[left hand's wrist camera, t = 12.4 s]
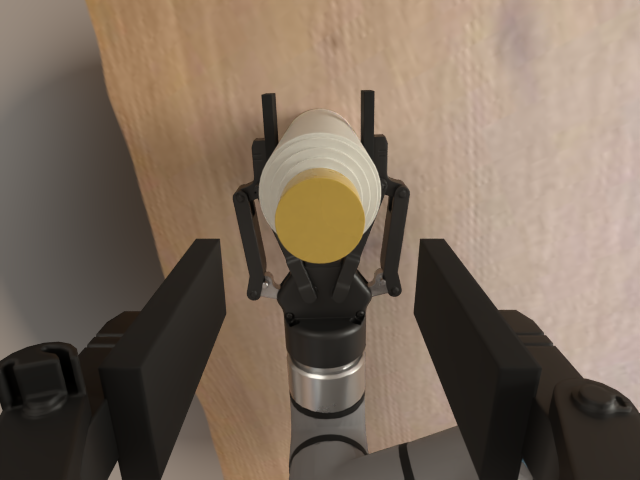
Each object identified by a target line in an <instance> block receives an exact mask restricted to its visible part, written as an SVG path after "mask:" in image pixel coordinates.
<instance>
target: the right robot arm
mask: <svg viewBox="0 0 640 480" xmlns="http://www.w3.org/2000/svg"><path fill="white" fill-rule="evenodd" d="M262 108H263V122H264V135H265V138H256V139H255V140H254V141H253V145H252V156H253V168H254V181H252V182H250V183H248V184H243V185H241V186H240V187H239V188H238V189H237V191H236V192H235V193H234V195H233V202H234V207H235V211H236V216H237V220H238V225H239V229H240V234H241V239H242V243H243V248H244V252H245V257H246V261H247V266H248V270H249V275H250V278H249V284H248V289H247V296H248V298H249V299H250V300H258V299H259V298H260V296H263V297H268V298H274V299H277V301H278V303H279V305H280V306H281V307H282V309H283V312H284V324H285V339H286V349H287V368H288V380H289V392H290V401H291V445H290V458H289V474H290V476H289V480H479V478H478V475H477V473H476V470H475V468H474V465H473V462H472V460H471V457H470V455H469V452H468V450H467V447H466V445H465V442H464V440H463V437H462V435H461V432H460V430H459V427H458V426H455V427H452V428H449V429H446V430H443V431H441V432H438V433H435V434H432V435H429V436H426V437H423V438H420V439H417V440H415V441H412V442H408V443H403V444H399V445H396V446H393V447H390V448H387V449H384V450H380V451H377V452H374V453H371V454H368V446H367V438H366V429H365V397H364V396H365V386H366V361H365V350H364V349H365V345H366V308H367V306H368V304H369V302H370V301H371V298H372V296H377V295H381V294H385V293H389V295H390V296H393V297H396V296H399V295H400V294H401V292H402V289H401V284H400V280H399V276H398V267H399V260H400V254H401V247H402V241H403V235H404V228H405V222H406V215H407V209H408V203H409V196H410V191H409V189H408V188H407V187H406V185H405V184H404V183H403V182H402V181H401V180H395V179H392V178H390V177H388V176H387V152H388V151H387V150H388V143H387V140H386V137H385V136H384V135H383V134H378V135H374V91H372V90H361V144H362V145H363V147H364V148H365V150H366V152H367V153H368V155H369V157H370V158H371V160H372V161H373V163H374V165H375V167H376V169H377V172H378V175H379V178H380V184H381V200H380V205H381V203H382V200H383V198H384V195H388V196H389V199H388V206H387V213H386V221H385V228H384V235H383V242H382V249H381V258H380V262H381V268H379V269H377V270H376V271H375V273H374V279H373V280H372V281H371V282H369V283H368V282H367V281H366V279H365V278H364V277H363V276H362V274H361V273H360V272H359V271H358V270H357V267H358V265H359V262H360V256H361V254H362V251H363V249H364V246H365V243H366V241H367V238H368V236H369V233H370V231H371V228H372V226H373V223H374V221H375V219H374V221H373V222H372V224H371V225H370V227H369V228H368V229H367V231H366V232H365V233H364V234H363V235H362V237H361V240H360V241H359V243H358V244H357V246H356V247H355V248H354V249H353V250H352V251H351V252H350V253H349V254H348V255H346V256H345V257H343V258H341V259H339V260H337V261H333V262H330V263H320V264H319V263H311V262H306V261H303V260H301V259H299V258H297V257H295V256H294V255H292V254H291V253H290V252H289V251H288V250H287V249H286V248H285V247H284V246H283V244H282V243H281V241H280V240H279V238H278V235H277V234H276V233H275V232H274V230H273V229H272V230H273V232H274V235H275V237H276V239H277V241H278V243H279V245H280V247H281V250H282V252H283V254H284V256H285V258H286V263H287V266H288V268H289V270H290V272H289V273H288V274H287V276H286V277H285V279H284V280H283V281H282V283H281V284H280V285H278V284H276V283H275V282H274V279H273V275H272V274H271V273H270V272H266V257H265V252H264V247H263V242H262V237H261V232H260V227H259V222H258V217H257V212H256V207H255V202H254V200H255V199H257V198H258V200H259V183H260V178H261V175H262V172H263V169H264V167H265V165H266V163H267V161H268V160H269V158H270V156H271V155H272V153H273V152H274V150H275V148H276V147H277V145H278V128H277V113H276V97H275V93H266V94H263V95H262ZM259 202H260V201H259ZM380 205H379V208H380ZM378 210H379V209H378ZM377 213H378V212H377ZM376 215H377V214H376ZM375 218H376V217H375ZM518 480H533V477H532V475H531V473H530V472H529V470H528V468H527V466H526V464H525V462H524V460H523V459H522V463H521V468H520V472H519V477H518Z"/></svg>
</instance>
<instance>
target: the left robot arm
mask: <svg viewBox="0 0 640 480" xmlns="http://www.w3.org/2000/svg"><path fill="white" fill-rule="evenodd" d="M225 316H226V304H225V292H224V281H223V269H222V258H221V246H220V239H196V240H195V241H194V242H193V244H192V245H191V246H190V248H189V249H188V250H187V251H186V253H185V254H184V255H183V257H182V258H181V259H180V261H179V262H178V263H177V265H176V266H175V267H174V269H173V270H172V271H171V273H170V274H169V275H168V276H167V278H166V279H165V280H164V282H163V283H162V284H161V286H160V287H159V288H158V290H157V291H156V292H155V294H154V295H153V296H152V298H151V299H150V300H149V301H148V303H147V304H146V305H145V307H144V308H143V309H142V311H124V312H123V313H121V314H119V315H118V316H116V317H115V318H113V319H111V320H110V321H108V322H107V323H106V324H105V325H104V326H103V327H102V329H101V330H100V331H99V332H98V333H97V335H96V337H94V338H93V339H92V340H91V341H90V342H89V344H88V345H87V348H84V350H83V351H82V352H81V353H80V354H79V355H78V352H77V349H76V348H75V347H74V346H72V345H71V344H68V343H63V342H49V343H42V344H37V345H33V346H29V347H26V348H24V349H22V350H19V351H17V352H14V353H12V354H10V355H9V356H7V357H6V358H4V359H3V360H1V361H0V404H1V407H2V410H3V411H2V413H1V415H0V480H108V478H109V476H110V474H111V472H112V470H113V468H114V466H115V464H116V462H117V461H118V463H119V468H120V472H121V477H122V480H161V478H162V475H163V473H164V470H165V468H166V465H167V462H168V460H169V457H170V455H171V452H172V450H173V447H174V445H175V442H176V440H177V437H178V435H179V432H180V429H181V427H182V424H183V422H184V419H185V417H186V414H187V412H188V409H189V407H190V404H191V402H192V399H193V397H194V394H195V392H196V389H197V386H198V384H199V381H200V379H201V376H202V374H203V371H204V369H205V366H206V364H207V361H208V359H209V356H210V354H211V351H212V348H213V346H214V343H215V341H216V338H217V336H218V333H219V331H220V328H221V326H222V323H223V321H224V318H225ZM414 316H415V318H416V321H417V323H418V326H419V328H420V331H421V333H422V336H423V338H424V341H425V343H426V346H427V348H428V351H429V354H430V356H431V359H432V361H433V364H434V366H435V369H436V371H437V374H438V376H439V379H440V381H441V384H442V386H443V389H444V392H445V394H446V397H447V399H448V402H449V404H450V407H451V409H452V412H453V414H454V417H455V419H456V422H457V424H458V427H459V430H460V432H461V435H462V437H463V440H464V442H465V445H466V447H467V450H468V452H469V455H470V457H471V460H472V462H473V465H474V468H475V470H476V473H477V475H478V478H479V480H518V477H519V472H520V468H521V463H522V459H523V460H524V462H525V464H526V466H527V468H528V470H529V472H530V473H531V475H532V477H533V480H640V413H639V412H638V410H637V409H636V407H635V406H634V405H633V403H632V402H631V401H630V400H629V399H628V398H627V397H625V396H624V395H623V394H621V393H620V392H619V391H617V390H615V389H613V388H611V387H609V386H607V385H605V384H603V383H600V382H596V381H593V380H589V379H584V378H583V377H582V376H581V375H580V374H579V373H578V371H577V370H576V369H575V368H574V367H573V366H572V365H571V363H570V362H569V361H568V360H567V359H566V358H565V357H564V355H563V354H562V353H561V352H560V351H559V350H558V349H557V347H556V346H553V343H552V342H551V341H550V339H549V338H548V337H547V336H546V335H544V332H543V331H542V330H541V329H540V328H539V327H538V326H537V324H536V323H535V322H534V321H533V320H531V319H530V318H528V317H526V316H525V315H523V314H522V313H520V312H518V311H517V310H498V309H497V308H496V307H495V305H494V304H493V303H492V301H491V300H490V299H489V297H488V296H487V295H486V294H485V292H484V291H483V290H482V288H481V287H480V286H479V284H478V283H477V282H476V280H475V279H474V278H473V276H472V275H471V274H470V273H469V271H468V270H467V269H466V267H465V266H464V265H463V263H462V262H461V261H460V259H459V258H458V257H457V255H456V254H455V253H454V251H453V250H452V249H451V248H450V246H449V245H448V244H447V242H446V241H445V240H444V239H420V246H419V258H418V269H417V281H416V292H415V304H414Z"/></svg>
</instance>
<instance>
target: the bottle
mask: <svg viewBox="0 0 640 480" xmlns="http://www.w3.org/2000/svg"><path fill="white" fill-rule="evenodd" d="M312 168H328V169H332V170H335V171H337V172H339V173H341V174H343V175H344V176H346V177H347V178H348V179H349V180H350V181H351V182H352V183H353V184H354V186H355V188H356V189H357V191H358V194H359V197H360V200H361V203H362V206H363V209H364V213H365V228H364V232H363V234H364V233H365V232H366V231H367V229H368V228H369V227H370V225H371V224H372V222H373V221H374V219H375V217H376V214H377V212H378V209H379V205H380V200H381V184H380V178H379V175H378V172H377V169H376V167H375V165H374V163H373V161H372V160H371V158H370V157H369V155H368V153H367V152H366V150H365V148H364V147H363V145H362V144H361V142H360V140H359V139H358V137H357V135H356V134H355V132H354V131H353V129H352V127H351V126H350V124H349V123H348V122H347V120H346V119H345V118H343V117H342V116H341V115H339V114H338V113H336V112H334V111H331V110H327V109H313V110H309V111H306V112H304V113H302V114H301V115H299V116H298V117H297V118H295V119H294V120H293V122H292V123H291V124H290V126H289V127H288V129H287V130H286V132H285V134H284V135H283V137H282V139H281V140H280V142H279V143H278V145H277V147H276V148H275V150H274V152H273V153H272V155H271V156H270V158H269V160H268V161H267V163H266V165H265V167H264V169H263V172H262V175H261V178H260V183H259V201H260V205H261V209H262V212H263V215H264V217H265V219H266V221H267V222H268V224H269V225H270V227H271V228H272V229H273V230H274V232H275V233H276V234H277V232H276V228H275V213H276V209H277V206H278V203H279V200H280V197H281V194H282V191H283V189H284V187H285V186H286V184H287V183H288V182H289V181H290V180H291V179H292V178H293V177H294V176H296V175H297V174H299V173H300V172H303V171H305V170H308V169H312Z"/></svg>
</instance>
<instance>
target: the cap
mask: <svg viewBox="0 0 640 480" xmlns="http://www.w3.org/2000/svg"><path fill="white" fill-rule="evenodd" d="M275 228H276V232H277V235H278V238H279V240H280V241H281V243H282V244H283V246H284V247H285V248H286V249H287V250H288V251H289V252H290V253H291V254H292V255H294V256H295V257H297V258H299V259H301V260H303V261H306V262H311V263H319V264H320V263H330V262H333V261H337V260H339V259H341V258H343V257H345V256H346V255H348V254H349V253H350V252H351V251H352V250H353V249H354V248H355V247H356V246H357V244H358V243H359V241H360V240H361V237H362V235H363V232H364V228H365V213H364V209H363V206H362V203H361V200H360V197H359V194H358V191H357V189H356V188H355V186H354V184H353V183H352V182H351V181H350V180H349V179H348V178H347V177H346V176H344V175H343V174H341V173H339V172H337V171H335V170H332V169H328V168H312V169H308V170H305V171H303V172H300V173H299V174H297V175H296V176H294V177H293V178H292V179H291V180H290V181H289V182H288V183H287V184H286V186H285V187H284V189H283V191H282V194H281V197H280V200H279V203H278V206H277V209H276V213H275Z"/></svg>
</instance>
